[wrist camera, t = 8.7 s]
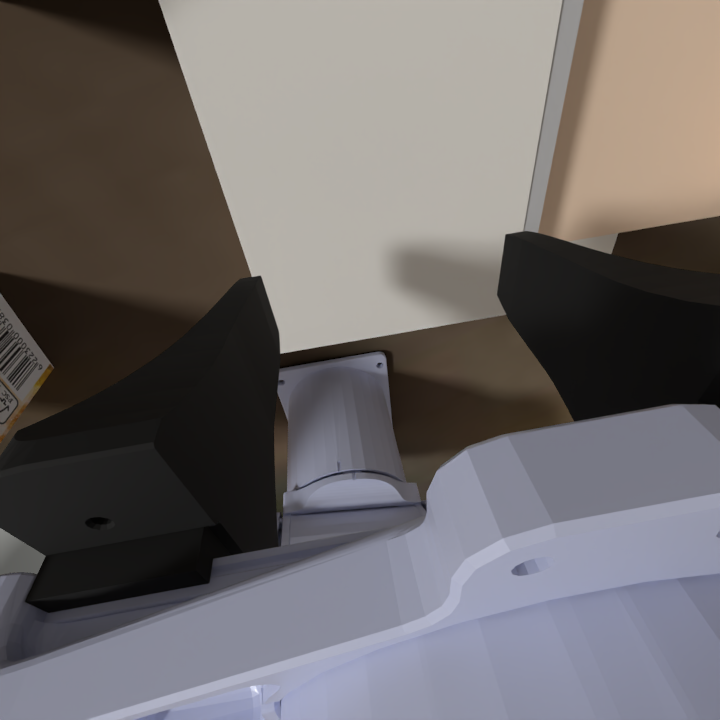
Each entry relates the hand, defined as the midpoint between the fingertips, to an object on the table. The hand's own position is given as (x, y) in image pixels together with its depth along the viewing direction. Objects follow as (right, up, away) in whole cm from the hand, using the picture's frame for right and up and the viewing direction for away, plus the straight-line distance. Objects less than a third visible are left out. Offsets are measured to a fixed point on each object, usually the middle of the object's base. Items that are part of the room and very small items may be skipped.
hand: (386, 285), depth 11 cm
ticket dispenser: (+3, +8, +7) cm, 12 cm away
